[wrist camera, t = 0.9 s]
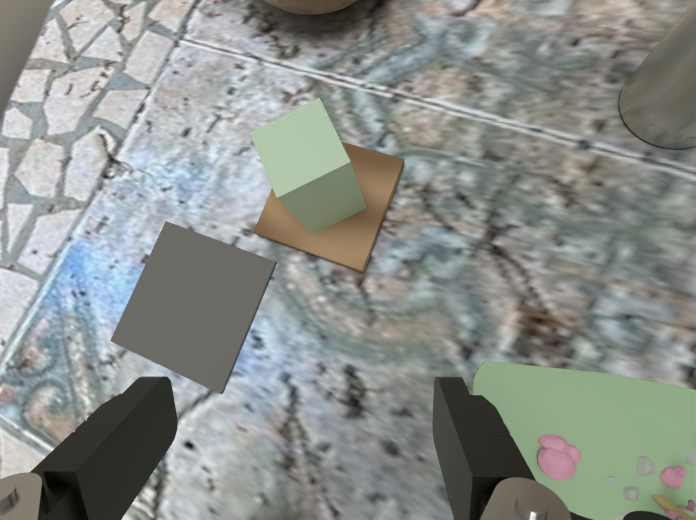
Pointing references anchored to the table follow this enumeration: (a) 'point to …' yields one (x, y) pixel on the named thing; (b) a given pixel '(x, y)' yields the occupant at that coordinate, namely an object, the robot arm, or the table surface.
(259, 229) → the peg stand
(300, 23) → the table surface
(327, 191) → the sage green tall block
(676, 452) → the plant
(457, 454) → the robot arm
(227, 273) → the mat
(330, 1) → the ceramic bowl
